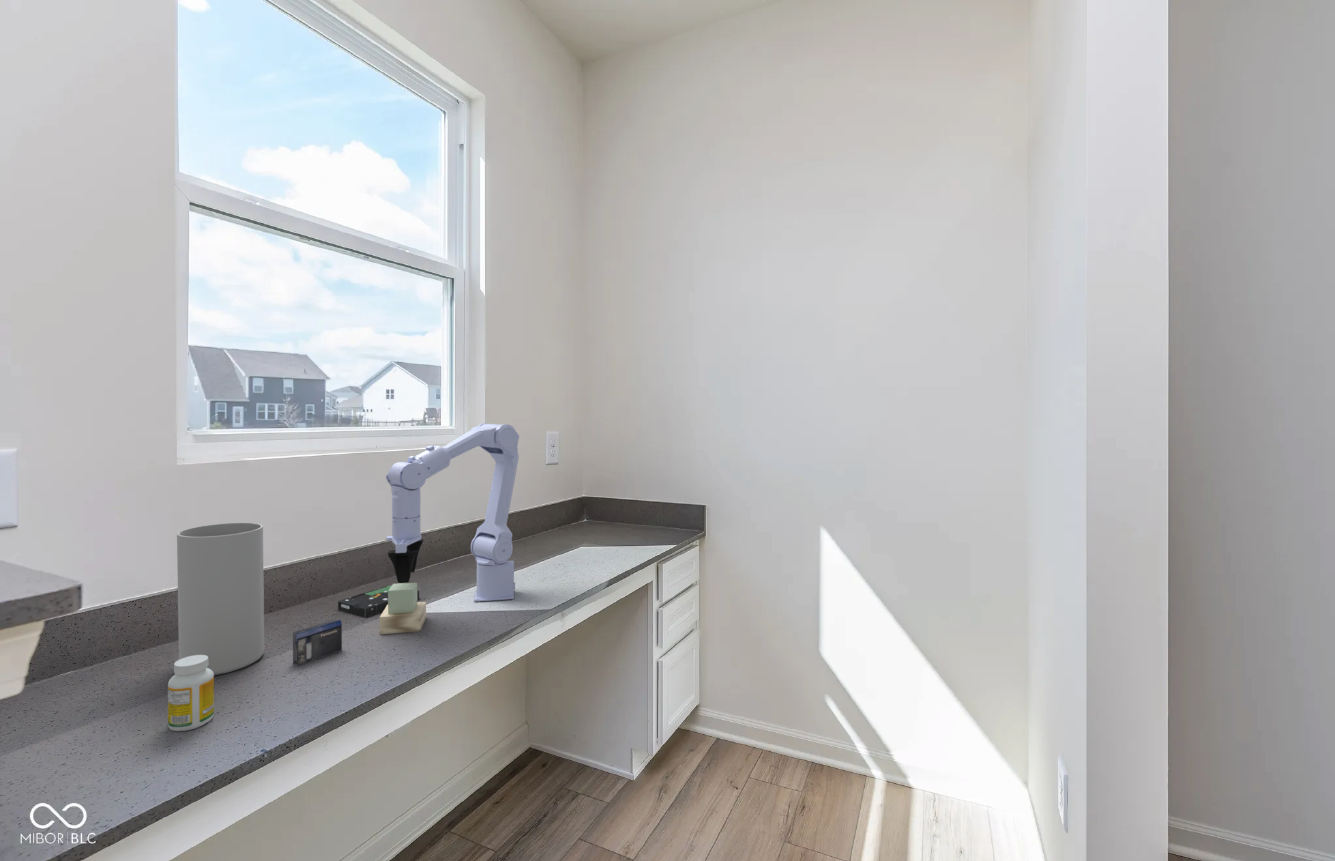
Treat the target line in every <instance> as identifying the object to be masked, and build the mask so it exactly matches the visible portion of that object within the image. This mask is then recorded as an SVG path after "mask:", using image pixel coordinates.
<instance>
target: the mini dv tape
mask: <svg viewBox="0 0 1335 861" xmlns="http://www.w3.org/2000/svg"><path fill="white" fill-rule="evenodd" d="M342 626H343V625H342V620H341V619H338V618H335V619H332V620H329V621H326V622H322V623H318V624H315V625H312V626H309V627H306V628H302V629H299V630H296V631H293V632H292V663H293V665H295V666H300V665H302V664H305V663H309V662H312V661H315V660H318V659H319V658H322V657H326V656H328V655H331V654H334V653H337V652H339V651H342V650H343V647H342V646H343V640H342V639H343V636H342V635H343V634H342V633H343V632H342V631H343V630H342Z"/></svg>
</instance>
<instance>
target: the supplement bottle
mask: <svg viewBox="0 0 1335 861" xmlns="http://www.w3.org/2000/svg"><path fill="white" fill-rule="evenodd" d="M208 664H209V663H208V656H206V655H194V656H189V657H185V658H182V659H180V660H179V659H177V660H176V661H175V662H174V664H173V673H174V675H173V676H172V677H170V678H169V680H168V683H167V726H168V729H169V730H171V731H172V732H187V731H190V730H194V729H197V728H200V727H201V726H204V725H206V724H207V723H209V722H210V721H212V720H213V718H214V715H215V694H214V693H215V687H214V686H215V675H214V673H213V671H212V670H211V669H209V668H207V667H208Z"/></svg>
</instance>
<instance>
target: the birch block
mask: <svg viewBox="0 0 1335 861" xmlns="http://www.w3.org/2000/svg"><path fill="white" fill-rule="evenodd" d="M426 619H427V601H417V606H416V608H415V610H414V612H408V613H393V614H388V605H387V606H386V608H385V609H384V611H383V612H381V614H380V616H379V635H387V634H388V635H389V634H398V633H413V632H414V633H415V632H421V630H422V628H423V626H424V624H425V621H426Z"/></svg>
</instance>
